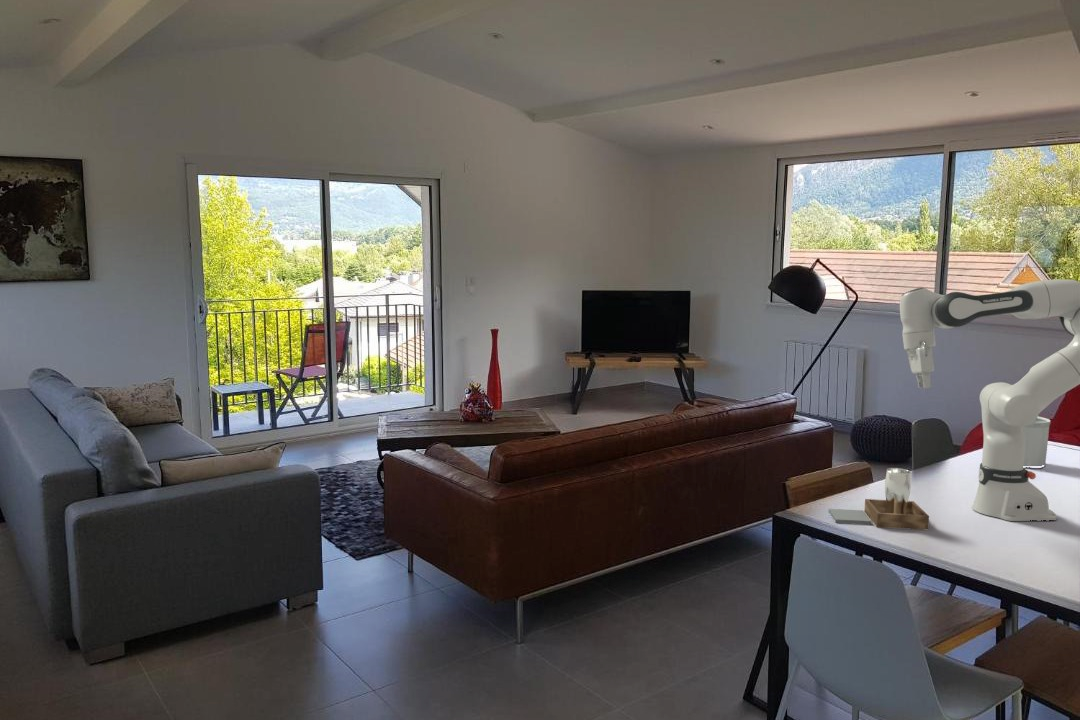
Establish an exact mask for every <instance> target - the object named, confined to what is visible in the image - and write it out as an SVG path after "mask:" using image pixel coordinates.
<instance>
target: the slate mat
mask: <svg viewBox="0 0 1080 720" xmlns="http://www.w3.org/2000/svg"><path fill="white" fill-rule="evenodd" d="M827 512H828V514H829V513H830V514H831V515H830V514H829V515H830V517H831V516H832V517H833V518H832V517H831V518H832V519H834V520H835V521H834V520H833V521H834V522H835V523H836V522H839V524H851V523H855V524H854V525H856V524H857V525H872V523H873V522H872V520H871V519H870V518H869V517H868V516H867V514H866V513H865V512H864V510H863V509H862V510H861V509H841V508H828V510H827Z"/></svg>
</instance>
